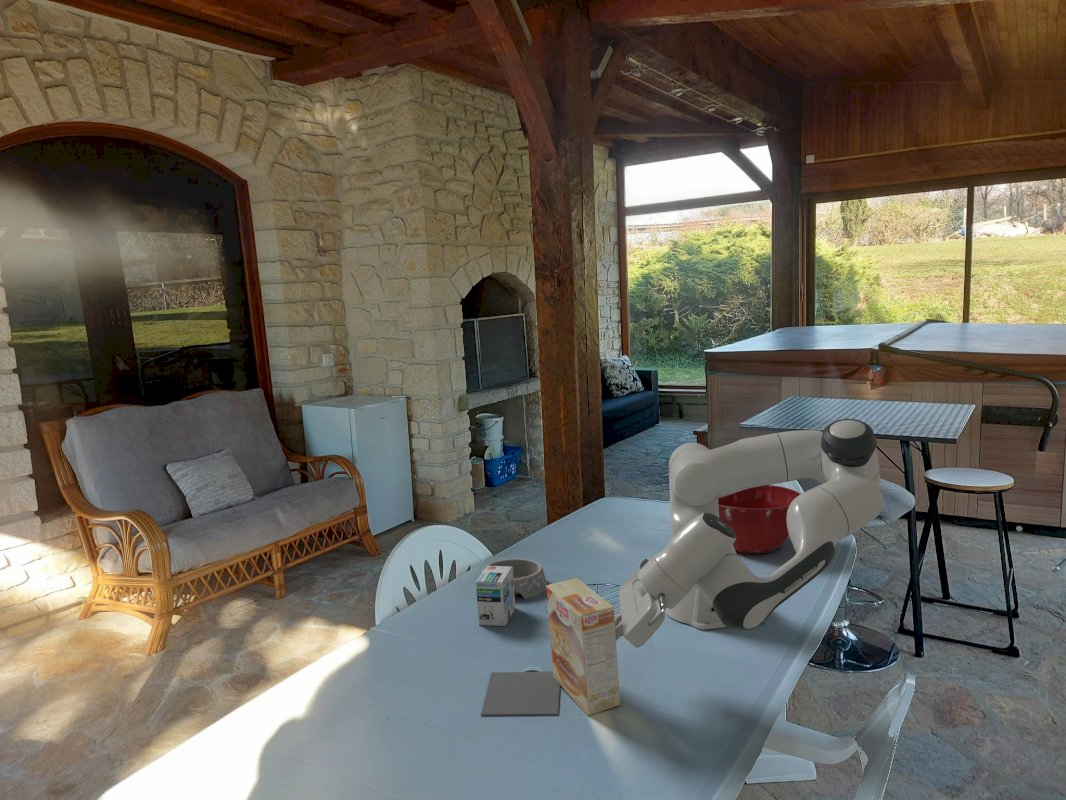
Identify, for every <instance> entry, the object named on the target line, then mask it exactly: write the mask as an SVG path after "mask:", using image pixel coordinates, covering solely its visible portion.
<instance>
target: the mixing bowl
mask: <svg viewBox="0 0 1066 800" xmlns="http://www.w3.org/2000/svg"><path fill="white" fill-rule="evenodd" d="M800 494H801V493H800V492H799V491H797V490H794V489H791V488H789V487H788V488H787V487H785V486H779V485H775V484H771V485H765V486H759V487H754V488H749V489H746V490H742V491H739V492H736V493H734V494H731V495H728V496H724V497H721V498H718V505H719V518H720V519H721V520H723V521H724V522H725V523H727V524H728V525H729V526H730V527H731V528H732V530H733V531H734V533H735V535H736V540H735V542H734V543H733V545H734V549H735V551H736V553H741V554H749V555H750V554H751V555H752V554H767V553H771V552H772V551H774V550H775V549H778V548H779V547H781V546H782V545H783V544H784V543H785V542H786V540H787V539H788V538H789V537H790V536H789V533H788V529H787V522H786V516H787V511H788V508H789V506H790V504H791V502H792V501H793V500H794V499H795V498H796V497H797V496H799V495H800Z"/></svg>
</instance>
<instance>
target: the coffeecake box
mask: <svg viewBox="0 0 1066 800" xmlns="http://www.w3.org/2000/svg"><path fill="white" fill-rule="evenodd" d="M545 591H546V599H547V600H546V601H547V612H548V623H549V624H548V626H549V634H550V648H551V658H552V672H553V677H554V679H555V680H556V681H557V682H558V683H559V684H560V687H562V689H563V690H564V691H565V692H566V693H567V694H568V695H569V696H570V697H571V699H572V700H573V701H574V702H575V703H576V704H577V705H578V706H579V707H580V708H581V709H582V711H584V713H585V714H586V715H587V716H592V715H596V714H598V713H600V712H603V711H606V710H609V709H613V708H616V707H619V706H621V696H620V694H621V693H620V682H619V681H620V680H619V670H618V668H619V666H618V652H617V651H618V650H617V641H616V633H615V619H616V617H615V607H614V605H612V604H611V603H609V602H608V601H607V600H605V598H603V597H602V596H600V595H599V594H598V593H597V592H595V590H593V589H592V588H591V587H589V586H588V585H587V584H585V583H584V582H583V581H581V579H579V578H578V577H575V578H570V579H567V580H563V581H559V582H558V581H557V582H553V583H549V584H548V585H547V586H546V590H545Z"/></svg>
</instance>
